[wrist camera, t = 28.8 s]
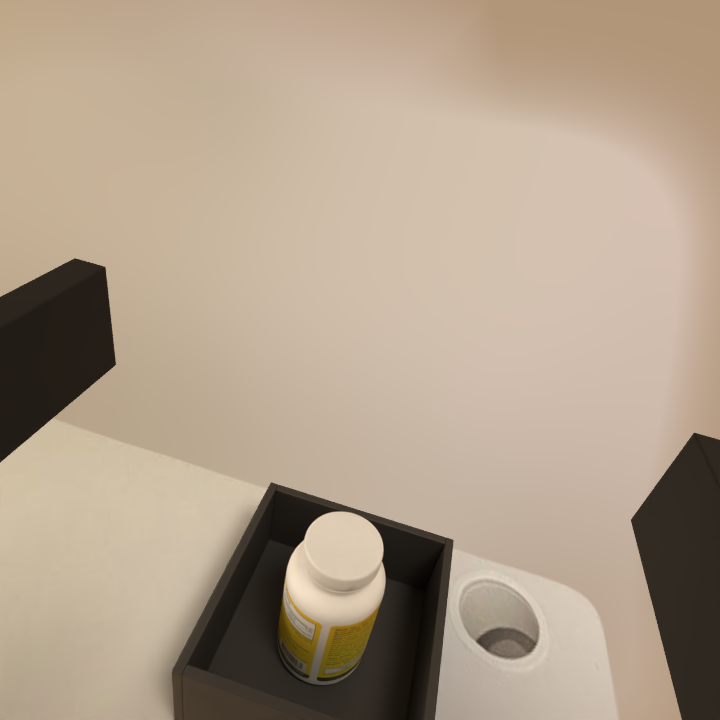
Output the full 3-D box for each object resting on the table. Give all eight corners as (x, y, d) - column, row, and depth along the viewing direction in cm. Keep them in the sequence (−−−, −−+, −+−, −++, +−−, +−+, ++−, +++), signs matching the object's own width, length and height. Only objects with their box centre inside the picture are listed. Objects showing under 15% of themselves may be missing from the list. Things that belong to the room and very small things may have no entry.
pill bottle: (369, 609, 39) (401, 513, 33) (357, 698, 34) (393, 604, 28) (288, 589, 39) (305, 490, 33) (263, 676, 34) (279, 577, 28)
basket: (431, 590, 42) (453, 539, 38) (401, 807, 30) (430, 764, 26) (264, 535, 43) (270, 481, 39) (174, 722, 31) (171, 671, 28)
